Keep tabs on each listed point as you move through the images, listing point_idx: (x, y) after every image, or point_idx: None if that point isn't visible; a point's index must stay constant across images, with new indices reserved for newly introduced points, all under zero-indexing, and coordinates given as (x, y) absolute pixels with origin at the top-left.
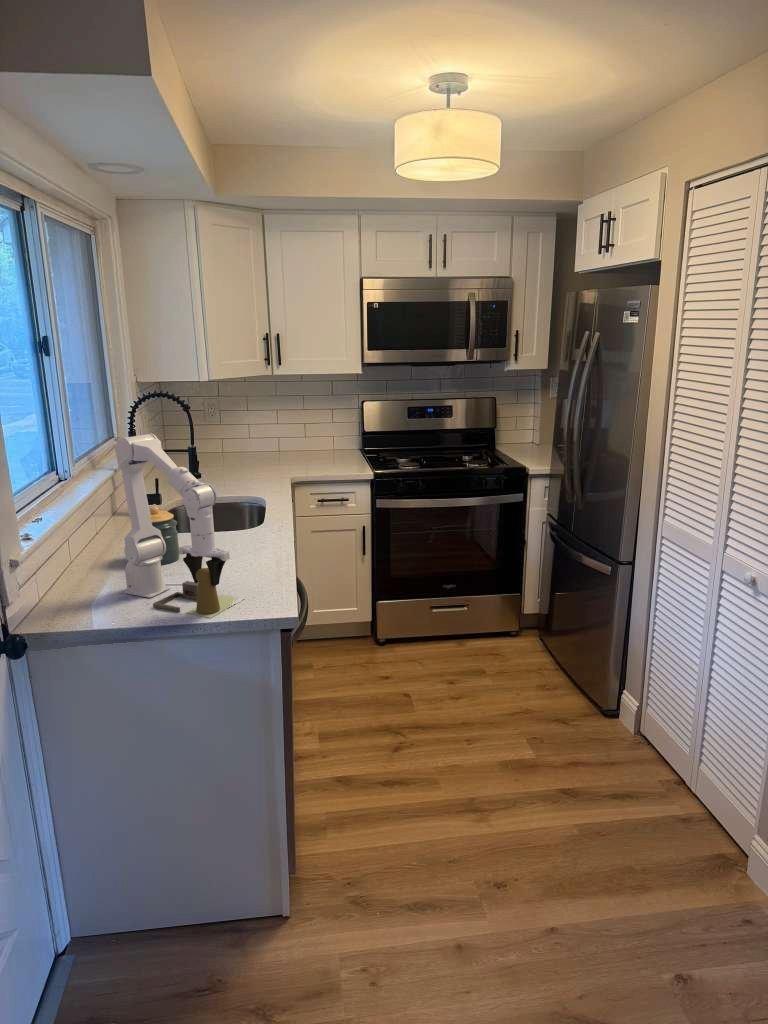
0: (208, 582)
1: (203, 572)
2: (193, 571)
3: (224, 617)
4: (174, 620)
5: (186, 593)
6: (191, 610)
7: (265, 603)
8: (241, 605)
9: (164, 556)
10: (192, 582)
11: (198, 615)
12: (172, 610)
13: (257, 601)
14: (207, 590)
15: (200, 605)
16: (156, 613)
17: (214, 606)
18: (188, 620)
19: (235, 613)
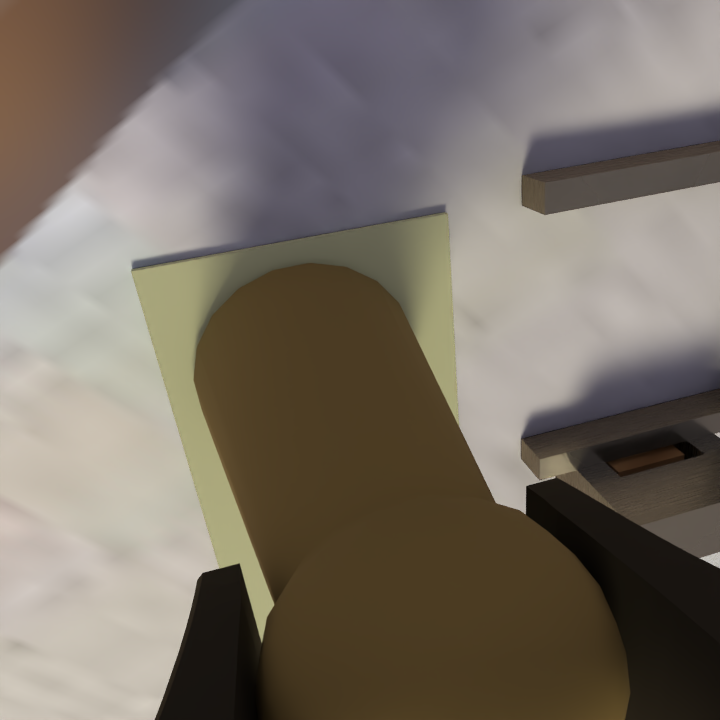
0: (291, 577)
1: (407, 705)
2: (671, 610)
3: (42, 362)
4: (422, 9)
5: (684, 445)
6: (441, 276)
7: (35, 716)
8: (164, 591)
9: None
10: (712, 545)
11: (296, 239)
12: (592, 166)
13: (127, 696)
14: (279, 471)
15: (312, 306)
16: (697, 46)
17: (204, 399)
18: (292, 96)
19: (46, 476)
